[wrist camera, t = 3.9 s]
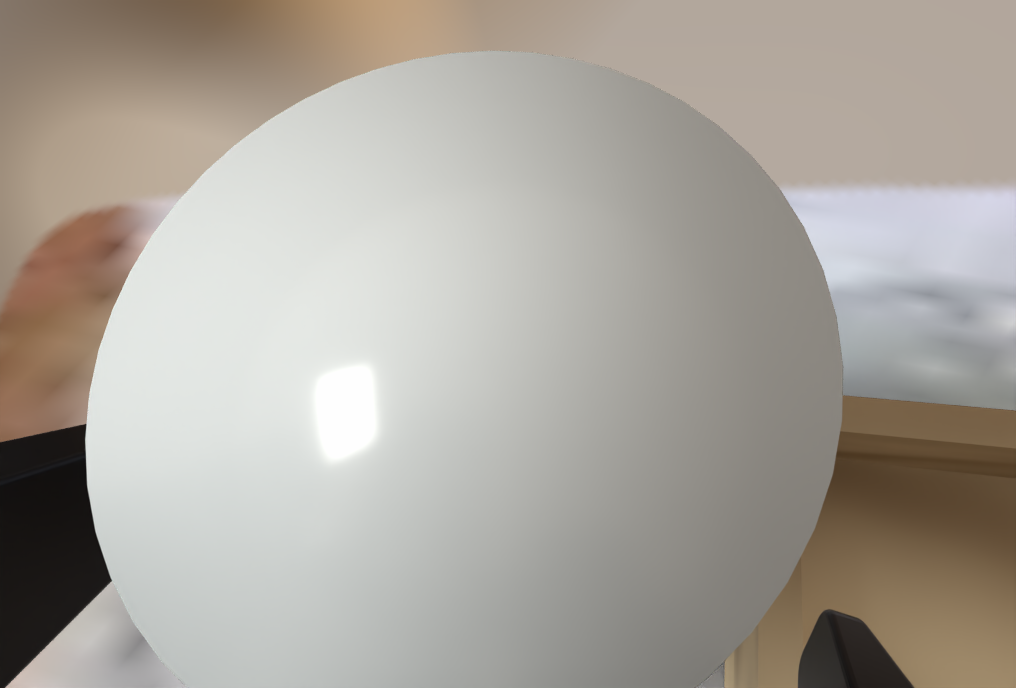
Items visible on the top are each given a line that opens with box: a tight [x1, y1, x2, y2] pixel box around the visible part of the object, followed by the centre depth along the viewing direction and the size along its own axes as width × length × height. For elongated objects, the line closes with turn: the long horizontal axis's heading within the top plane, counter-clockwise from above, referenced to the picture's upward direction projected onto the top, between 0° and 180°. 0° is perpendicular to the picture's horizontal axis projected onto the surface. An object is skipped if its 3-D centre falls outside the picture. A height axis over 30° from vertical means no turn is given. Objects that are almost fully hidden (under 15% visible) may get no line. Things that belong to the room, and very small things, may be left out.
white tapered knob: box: [85, 51, 843, 688], centre depth 11 cm, size 6×6×13 cm
